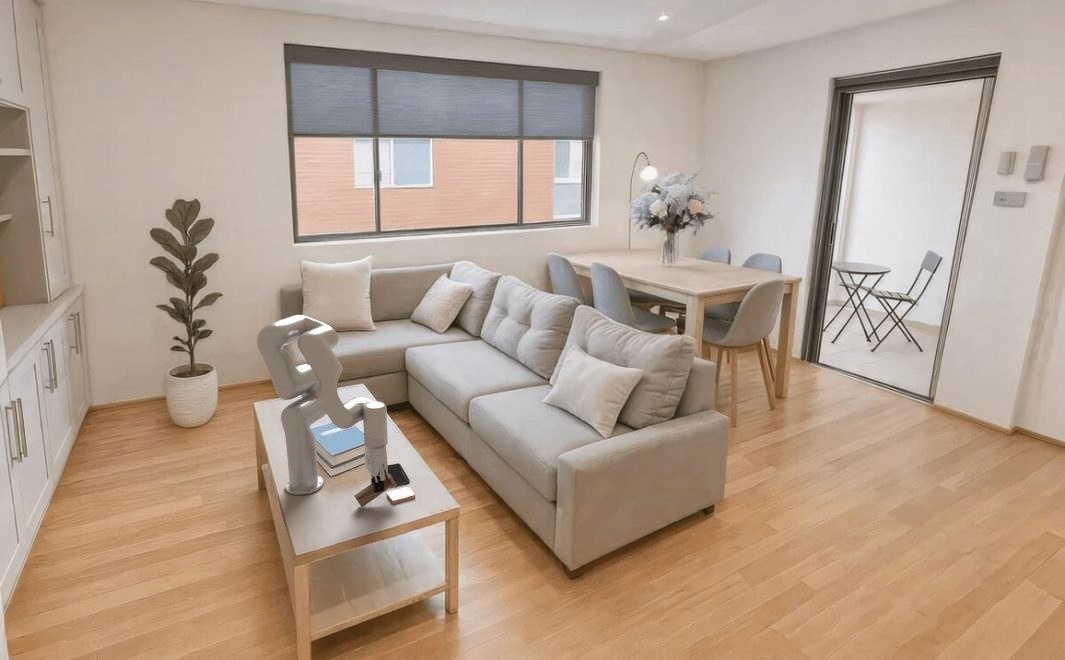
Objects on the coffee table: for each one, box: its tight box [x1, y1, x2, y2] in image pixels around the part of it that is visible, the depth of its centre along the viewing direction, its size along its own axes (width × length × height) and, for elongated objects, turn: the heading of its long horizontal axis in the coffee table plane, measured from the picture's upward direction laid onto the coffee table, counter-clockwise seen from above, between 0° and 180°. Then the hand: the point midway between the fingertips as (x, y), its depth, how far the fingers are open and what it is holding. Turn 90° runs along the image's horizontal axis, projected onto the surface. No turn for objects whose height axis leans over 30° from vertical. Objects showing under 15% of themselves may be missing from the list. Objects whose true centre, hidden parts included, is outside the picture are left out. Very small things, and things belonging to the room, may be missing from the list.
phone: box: [384, 463, 411, 488], centre depth 229 cm, size 8×1×15 cm
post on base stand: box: [353, 472, 399, 508], centre depth 209 cm, size 7×13×5 cm, turn 122°
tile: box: [386, 486, 416, 505], centre depth 215 cm, size 6×2×8 cm
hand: (378, 489), depth 209 cm, fingers closed on post on base stand
